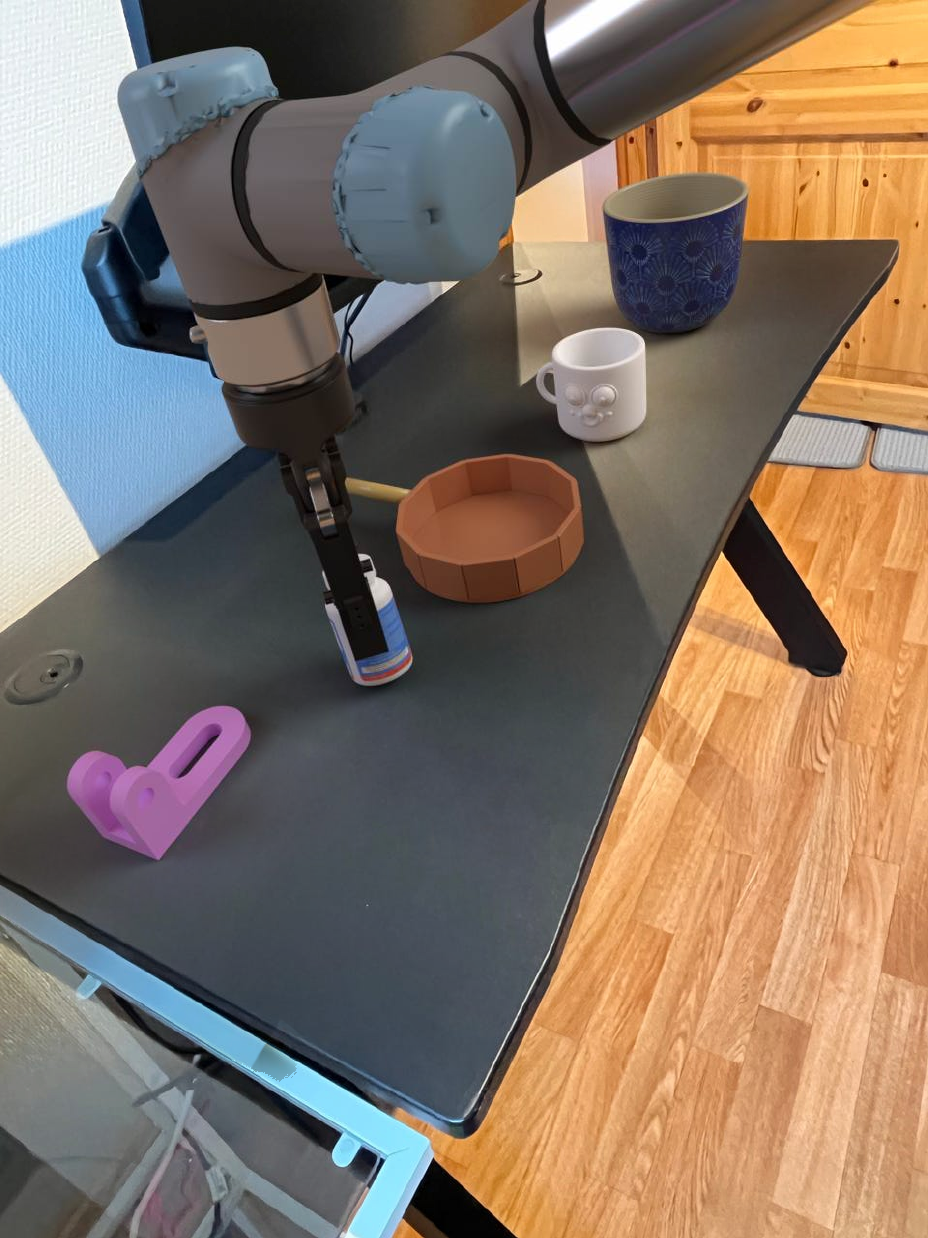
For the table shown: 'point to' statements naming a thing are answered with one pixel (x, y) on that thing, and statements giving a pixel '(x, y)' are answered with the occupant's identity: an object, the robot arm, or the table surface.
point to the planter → (675, 248)
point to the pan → (486, 526)
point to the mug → (598, 383)
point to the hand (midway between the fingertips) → (370, 651)
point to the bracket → (159, 782)
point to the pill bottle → (399, 650)
